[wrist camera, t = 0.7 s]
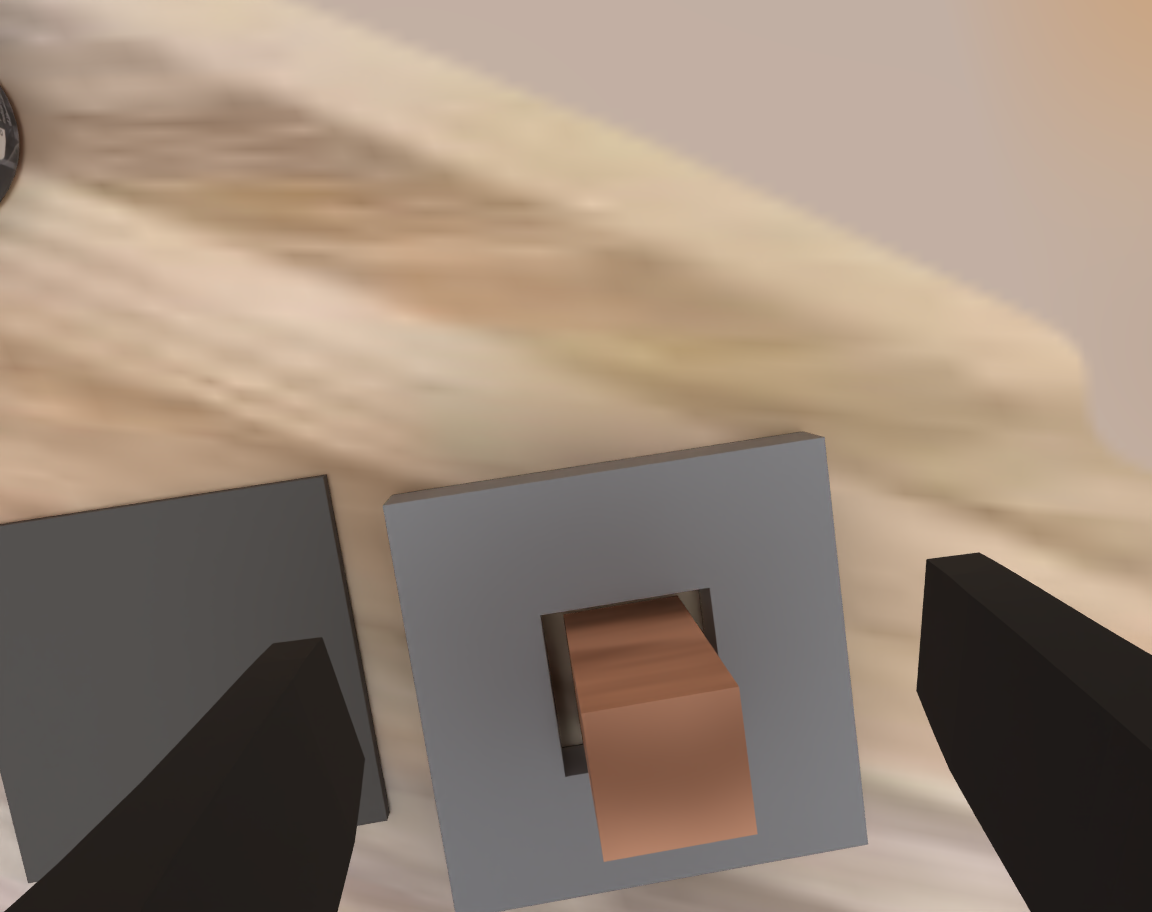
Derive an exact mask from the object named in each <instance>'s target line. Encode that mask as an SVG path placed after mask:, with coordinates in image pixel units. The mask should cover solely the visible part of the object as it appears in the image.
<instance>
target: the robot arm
mask: <svg viewBox="0 0 1152 912" xmlns="http://www.w3.org/2000/svg"><path fill="white" fill-rule="evenodd" d="M916 691H917V693H918V696H919V698H920V701H921V703H922V706H923V708H924V711H925V713H926V716H927V718H928V720H929V723H930V725H931V728H932V730H933V733H934V735H935V737H936V740H937V742H938V744H939V747H940V749H941V751H942V754H943V756H944V758H945V760H946V763H947V765H948V767H949V770H950V771H951V773H952V775H953V777H954V779H955V780H956V782H957V784H958V786H959V788H960V789H961V791H962V793H963V795H964V797H965V798H966V800H967V802H968V804H969V805H970V807H971V809H972V811H973V812H974V814H975V816H976V818H977V819H978V821H979V823H980V825H981V826H982V828H983V830H984V832H985V833H986V835H987V837H988V839H989V840H990V842H991V844H992V846H993V847H994V849H995V851H996V853H997V854H998V856H999V858H1000V859H1001V861H1002V863H1003V865H1004V866H1005V868H1006V870H1007V872H1008V873H1009V875H1010V877H1011V878H1012V880H1013V882H1014V884H1015V885H1016V887H1017V889H1018V891H1019V892H1020V894H1021V896H1022V897H1023V899H1024V901H1025V903H1026V904H1027V906H1028V908H1029V910H1030V911H1031V912H1152V655H1151V654H1149V653H1147V652H1145V651H1144V650H1142V649H1140V648H1139V647H1137V646H1135V645H1133V644H1132V643H1130V642H1128V641H1127V640H1125V639H1123V638H1122V637H1120V636H1118V635H1116V634H1115V633H1113V632H1111V631H1110V630H1108V629H1106V628H1105V627H1103V626H1101V625H1100V624H1098V623H1096V622H1095V621H1093V620H1091V619H1090V618H1088V617H1086V616H1085V615H1083V614H1082V613H1080V612H1078V611H1077V610H1075V609H1073V608H1072V607H1070V606H1068V605H1067V604H1065V603H1063V602H1062V601H1060V600H1059V599H1057V598H1055V597H1054V596H1052V595H1050V594H1049V593H1047V592H1045V591H1044V590H1042V589H1041V588H1039V587H1037V586H1036V585H1034V584H1032V583H1031V582H1029V581H1027V580H1026V579H1024V578H1022V577H1021V576H1019V575H1017V574H1016V573H1014V572H1012V571H1011V570H1009V569H1007V568H1006V567H1004V566H1002V565H1001V564H999V563H997V562H995V561H994V560H992V559H990V558H988V557H986V556H985V555H983V554H981V553H972V554H964V555H956V556H948V557H940V558H933V559H927V560H926V573H925V586H924V599H923V612H922V625H921V638H920V651H919V664H918V677H917V690H916ZM364 764H365V757H364V754H363V752H362V749H361V746H360V743H359V740H358V737H357V734H356V732H355V729H354V726H353V723H352V720H351V717H350V714H349V712H348V709H347V706H346V703H345V700H344V697H343V694H342V692H341V689H340V686H339V683H338V680H337V677H336V674H335V672H334V669H333V666H332V663H331V660H330V657H329V654H328V652H327V649H326V646H325V643H324V640H323V637H318V638H310V639H302V640H294V641H287V642H279V643H273V644H272V645H270V646H269V647H268V648H267V649H266V650H265V651H264V652H263V653H262V654H261V655H260V656H259V657H258V658H257V659H256V660H255V661H254V663H253V664H252V665H251V666H250V667H249V668H248V669H247V670H246V671H245V672H244V673H243V674H242V675H241V676H240V677H239V678H238V680H237V681H236V682H235V683H234V684H233V685H232V686H231V687H230V688H229V689H228V690H227V691H226V692H225V693H224V695H223V696H222V697H221V698H220V699H219V700H218V701H217V702H216V703H215V704H214V705H213V706H212V708H211V709H210V710H209V711H208V712H207V713H206V714H205V715H204V716H203V717H202V718H201V719H200V720H199V722H198V723H197V724H196V725H195V726H194V727H193V728H192V729H191V730H190V731H189V732H188V733H187V734H186V735H185V736H184V737H183V738H182V739H181V741H180V742H179V743H178V744H177V745H176V746H175V747H174V748H173V749H172V750H171V751H170V752H169V753H168V754H167V755H166V756H165V757H164V758H163V759H162V761H161V762H160V763H159V764H158V765H157V766H156V767H155V768H154V769H153V770H152V771H151V772H150V773H149V774H148V775H147V776H146V777H145V778H144V779H143V780H142V781H141V782H140V784H138V785H137V786H136V787H135V788H134V789H133V790H132V791H131V792H130V793H129V794H128V795H127V796H126V797H125V798H124V799H123V800H122V801H121V802H120V803H119V804H118V805H117V806H116V807H115V808H114V809H113V810H112V811H111V812H110V813H109V814H108V815H107V816H106V817H105V818H104V819H103V820H102V821H101V822H100V823H99V824H98V825H97V826H96V827H95V828H94V829H93V830H91V831H90V832H89V833H88V834H87V835H86V836H85V837H84V838H83V839H82V840H81V841H80V842H79V843H78V844H77V845H76V846H75V847H74V848H73V849H72V850H71V851H70V852H69V853H68V854H67V855H66V856H65V857H64V858H63V859H62V860H61V861H60V862H59V863H58V864H56V865H55V866H54V867H53V868H52V869H51V870H50V871H49V872H48V873H47V874H46V875H45V876H43V877H42V878H41V879H40V880H39V881H38V882H37V883H36V884H35V885H34V886H32V887H31V888H30V889H29V890H28V891H27V892H26V893H25V894H24V895H22V896H21V897H20V898H19V899H18V900H17V901H16V902H15V903H13V904H12V905H11V906H10V907H9V908H8V909H7V910H5V911H4V912H337V911H338V907H339V903H340V899H341V895H342V891H343V887H344V883H345V879H346V875H347V871H348V867H349V863H350V859H351V855H352V851H353V847H354V842H355V836H356V829H357V822H358V815H359V807H360V799H361V791H362V782H363V773H364Z"/></svg>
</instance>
